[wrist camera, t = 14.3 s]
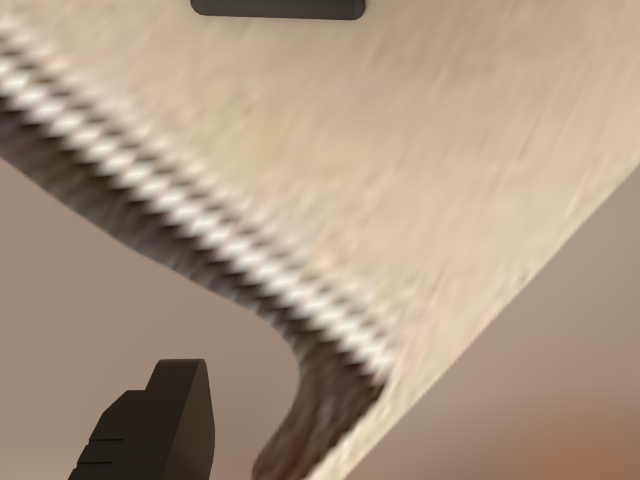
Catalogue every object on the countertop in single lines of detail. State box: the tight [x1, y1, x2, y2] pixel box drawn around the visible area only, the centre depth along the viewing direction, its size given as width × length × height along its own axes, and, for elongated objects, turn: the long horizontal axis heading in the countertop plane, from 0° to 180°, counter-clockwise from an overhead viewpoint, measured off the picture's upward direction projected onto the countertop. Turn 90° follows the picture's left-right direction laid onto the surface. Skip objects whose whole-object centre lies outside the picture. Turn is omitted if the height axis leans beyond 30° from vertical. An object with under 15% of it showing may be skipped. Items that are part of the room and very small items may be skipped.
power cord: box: [190, 0, 365, 20], centre depth 27 cm, size 9×1×1 cm, turn 90°
